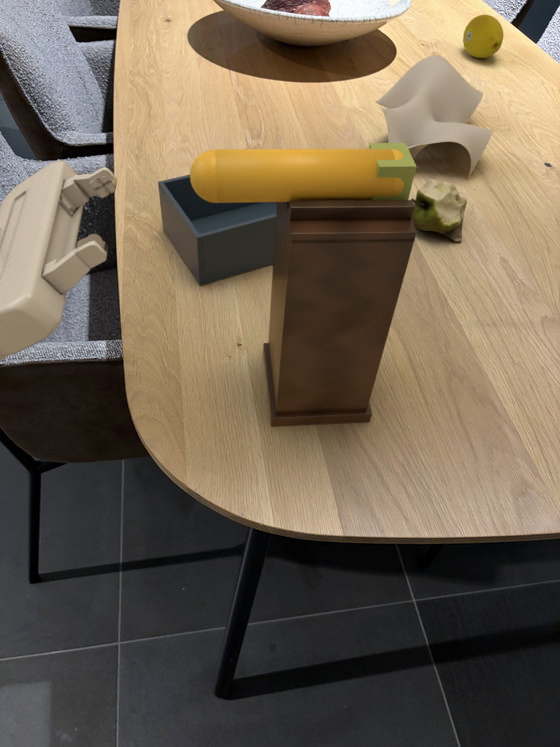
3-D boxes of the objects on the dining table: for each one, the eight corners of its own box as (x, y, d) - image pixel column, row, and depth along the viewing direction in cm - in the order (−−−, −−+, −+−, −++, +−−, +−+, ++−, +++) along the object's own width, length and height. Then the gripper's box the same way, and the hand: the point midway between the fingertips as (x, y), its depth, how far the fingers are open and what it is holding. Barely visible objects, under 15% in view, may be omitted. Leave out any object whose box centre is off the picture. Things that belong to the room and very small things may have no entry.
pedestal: (270, 426, 65) (286, 224, 45) (262, 351, 72) (273, 148, 52) (370, 422, 66) (428, 223, 46) (352, 348, 73) (397, 148, 53)
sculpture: (488, 182, 99) (509, 125, 92) (374, 172, 99) (386, 114, 92) (468, 110, 116) (484, 57, 108) (370, 101, 116) (379, 47, 108)
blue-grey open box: (199, 286, 79) (196, 237, 73) (163, 230, 86) (157, 181, 80) (342, 243, 87) (350, 196, 81) (297, 195, 94) (302, 148, 88)
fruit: (411, 252, 88) (412, 203, 83) (400, 219, 95) (401, 171, 89) (475, 244, 87) (480, 194, 82) (460, 211, 94) (464, 163, 88)
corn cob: (191, 213, 47) (188, 167, 44) (190, 185, 50) (188, 139, 47) (412, 209, 49) (424, 165, 46) (401, 182, 52) (411, 139, 49)
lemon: (454, 46, 136) (464, 6, 129) (487, 47, 136) (499, 8, 130) (466, 67, 129) (478, 26, 122) (501, 68, 129) (515, 28, 123)
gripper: (28, 230, 62) (137, 170, 58) (-14, 383, 49) (123, 318, 45) (-21, 184, 58) (94, 115, 54) (-82, 338, 45) (64, 262, 41)
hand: (107, 209), depth 50 cm, fingers open, 8 cm apart
